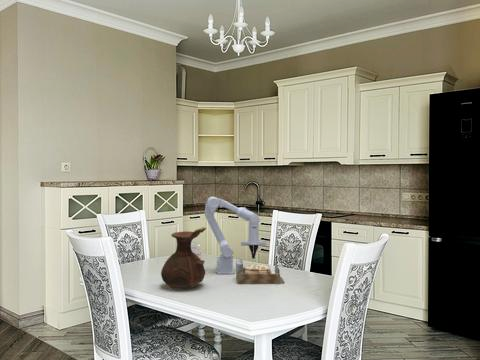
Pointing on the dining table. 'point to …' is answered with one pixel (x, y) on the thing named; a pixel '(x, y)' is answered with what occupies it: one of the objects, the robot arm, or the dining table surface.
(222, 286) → the dining table surface
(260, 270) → the trinket box
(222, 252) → the robot arm
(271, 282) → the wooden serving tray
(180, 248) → the jug
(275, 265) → the bookend
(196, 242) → the ink box
